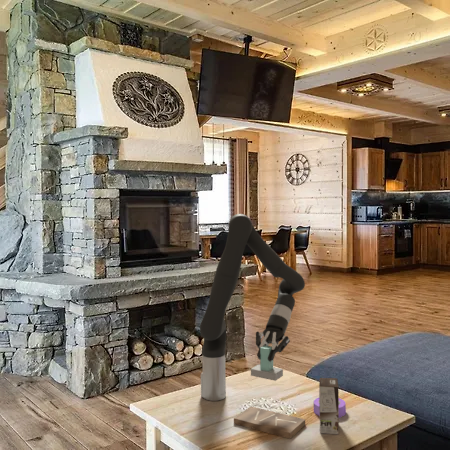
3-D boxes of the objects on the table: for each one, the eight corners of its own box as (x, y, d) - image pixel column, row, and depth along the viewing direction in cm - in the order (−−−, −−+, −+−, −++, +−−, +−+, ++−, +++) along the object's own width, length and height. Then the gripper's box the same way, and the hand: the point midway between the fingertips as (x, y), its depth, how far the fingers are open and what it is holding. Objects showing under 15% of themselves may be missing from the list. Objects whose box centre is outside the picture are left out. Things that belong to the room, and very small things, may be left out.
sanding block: (250, 375, 182) (250, 347, 182) (258, 370, 187) (258, 343, 187) (275, 380, 177) (275, 351, 176) (282, 375, 182) (282, 347, 181)
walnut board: (233, 423, 177) (233, 418, 177) (250, 411, 187) (250, 406, 187) (290, 438, 165) (290, 432, 164) (305, 424, 175) (305, 419, 174)
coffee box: (339, 434, 167) (338, 387, 166) (319, 433, 168) (318, 386, 167) (338, 423, 176) (338, 377, 175) (319, 421, 177) (319, 376, 176)
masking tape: (307, 412, 185) (307, 402, 185) (324, 403, 194) (324, 393, 194) (335, 421, 177) (335, 411, 177) (351, 411, 186) (351, 401, 186)
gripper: (259, 311, 191) (243, 351, 181) (293, 316, 184) (278, 357, 174) (265, 322, 196) (250, 361, 186) (299, 327, 188) (285, 368, 179)
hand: (264, 359), depth 180 cm, fingers closed on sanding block, 3 cm apart
